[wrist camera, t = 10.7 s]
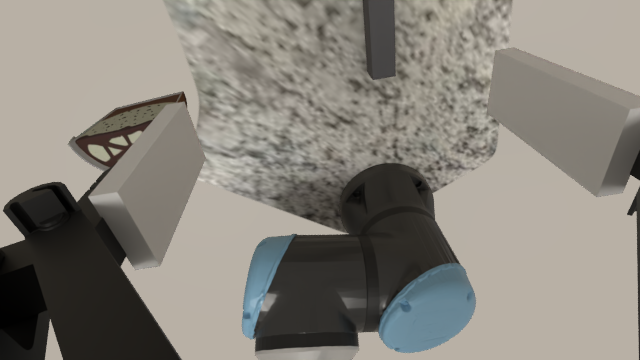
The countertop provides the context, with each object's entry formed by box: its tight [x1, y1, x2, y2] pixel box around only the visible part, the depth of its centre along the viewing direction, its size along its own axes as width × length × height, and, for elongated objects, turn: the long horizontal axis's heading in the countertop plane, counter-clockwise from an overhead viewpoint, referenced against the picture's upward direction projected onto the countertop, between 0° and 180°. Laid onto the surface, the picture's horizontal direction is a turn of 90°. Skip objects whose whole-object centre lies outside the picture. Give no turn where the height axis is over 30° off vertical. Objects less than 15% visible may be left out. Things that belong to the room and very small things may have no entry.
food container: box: [68, 92, 187, 171], centre depth 42 cm, size 12×6×10 cm, turn 103°
